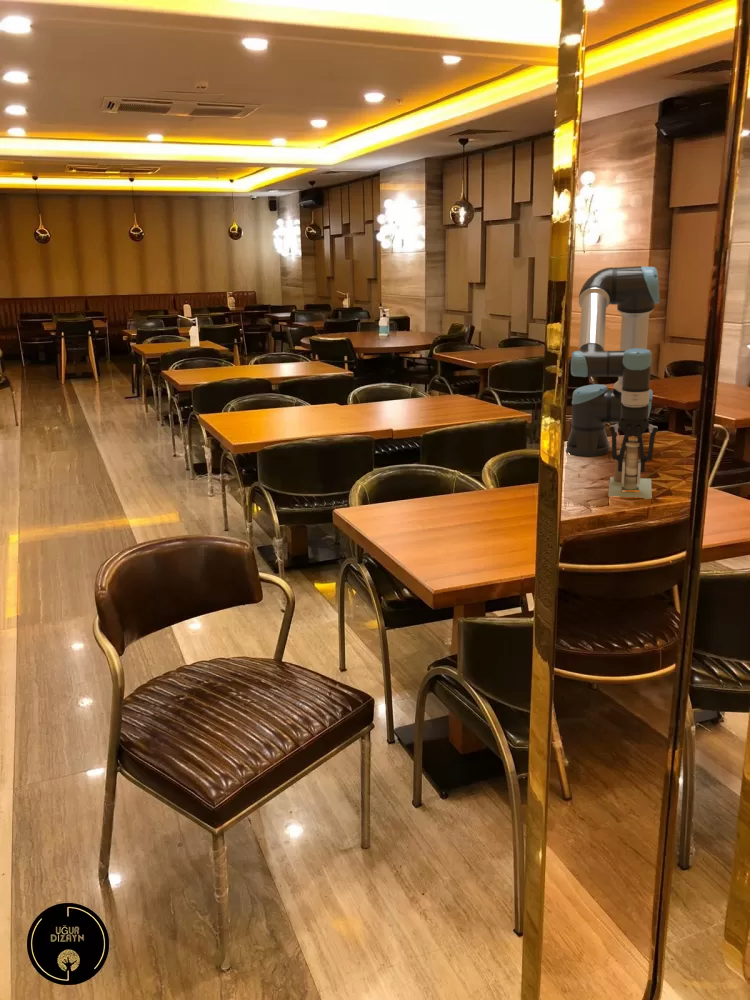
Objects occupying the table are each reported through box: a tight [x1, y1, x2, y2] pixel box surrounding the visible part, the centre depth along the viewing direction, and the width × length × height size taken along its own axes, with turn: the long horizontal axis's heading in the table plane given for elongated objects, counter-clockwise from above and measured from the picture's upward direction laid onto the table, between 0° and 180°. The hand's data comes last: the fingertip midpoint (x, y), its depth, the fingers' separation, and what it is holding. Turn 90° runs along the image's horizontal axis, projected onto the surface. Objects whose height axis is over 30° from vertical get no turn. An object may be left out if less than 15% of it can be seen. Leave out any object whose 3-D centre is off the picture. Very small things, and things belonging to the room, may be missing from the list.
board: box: [607, 449, 653, 500], centre depth 242 cm, size 17×12×13 cm
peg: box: [624, 439, 640, 489], centre depth 238 cm, size 4×4×14 cm
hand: (630, 482), depth 239 cm, fingers closed on peg, 4 cm apart
